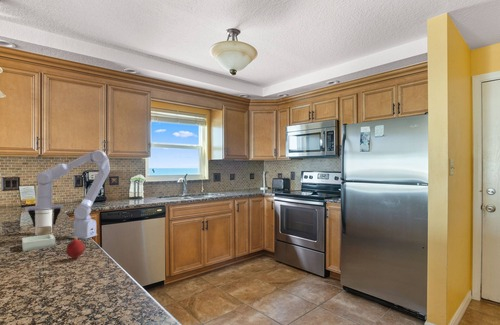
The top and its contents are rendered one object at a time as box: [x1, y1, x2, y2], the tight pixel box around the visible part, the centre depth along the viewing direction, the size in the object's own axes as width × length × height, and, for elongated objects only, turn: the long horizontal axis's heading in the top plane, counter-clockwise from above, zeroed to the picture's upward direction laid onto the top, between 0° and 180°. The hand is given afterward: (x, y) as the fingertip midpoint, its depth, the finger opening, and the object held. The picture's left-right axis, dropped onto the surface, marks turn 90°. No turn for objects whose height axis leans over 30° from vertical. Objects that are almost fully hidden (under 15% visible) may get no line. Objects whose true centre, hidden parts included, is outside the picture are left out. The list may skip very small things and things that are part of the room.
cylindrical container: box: [34, 185, 53, 236], centre depth 147 cm, size 7×7×25 cm
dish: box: [21, 233, 56, 252], centre depth 122 cm, size 11×11×4 cm
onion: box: [65, 237, 86, 260], centre depth 105 cm, size 6×6×8 cm
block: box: [36, 226, 53, 236], centre depth 133 cm, size 5×5×6 cm
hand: (44, 225), depth 133 cm, fingers open, 7 cm apart
